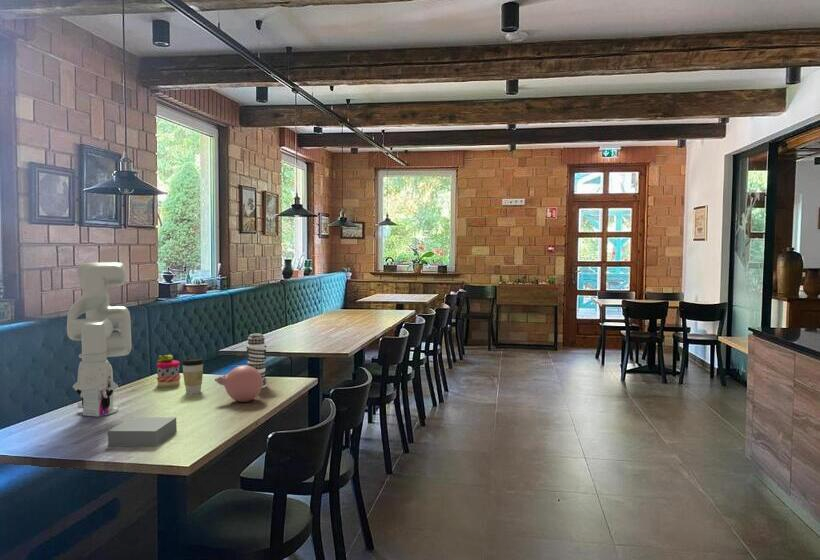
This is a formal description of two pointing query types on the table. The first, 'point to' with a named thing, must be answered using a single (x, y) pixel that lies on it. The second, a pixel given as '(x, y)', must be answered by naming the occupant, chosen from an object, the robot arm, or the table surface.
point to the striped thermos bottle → (257, 354)
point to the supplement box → (93, 403)
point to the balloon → (242, 383)
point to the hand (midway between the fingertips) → (96, 407)
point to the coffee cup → (193, 374)
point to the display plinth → (142, 431)
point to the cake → (168, 371)
